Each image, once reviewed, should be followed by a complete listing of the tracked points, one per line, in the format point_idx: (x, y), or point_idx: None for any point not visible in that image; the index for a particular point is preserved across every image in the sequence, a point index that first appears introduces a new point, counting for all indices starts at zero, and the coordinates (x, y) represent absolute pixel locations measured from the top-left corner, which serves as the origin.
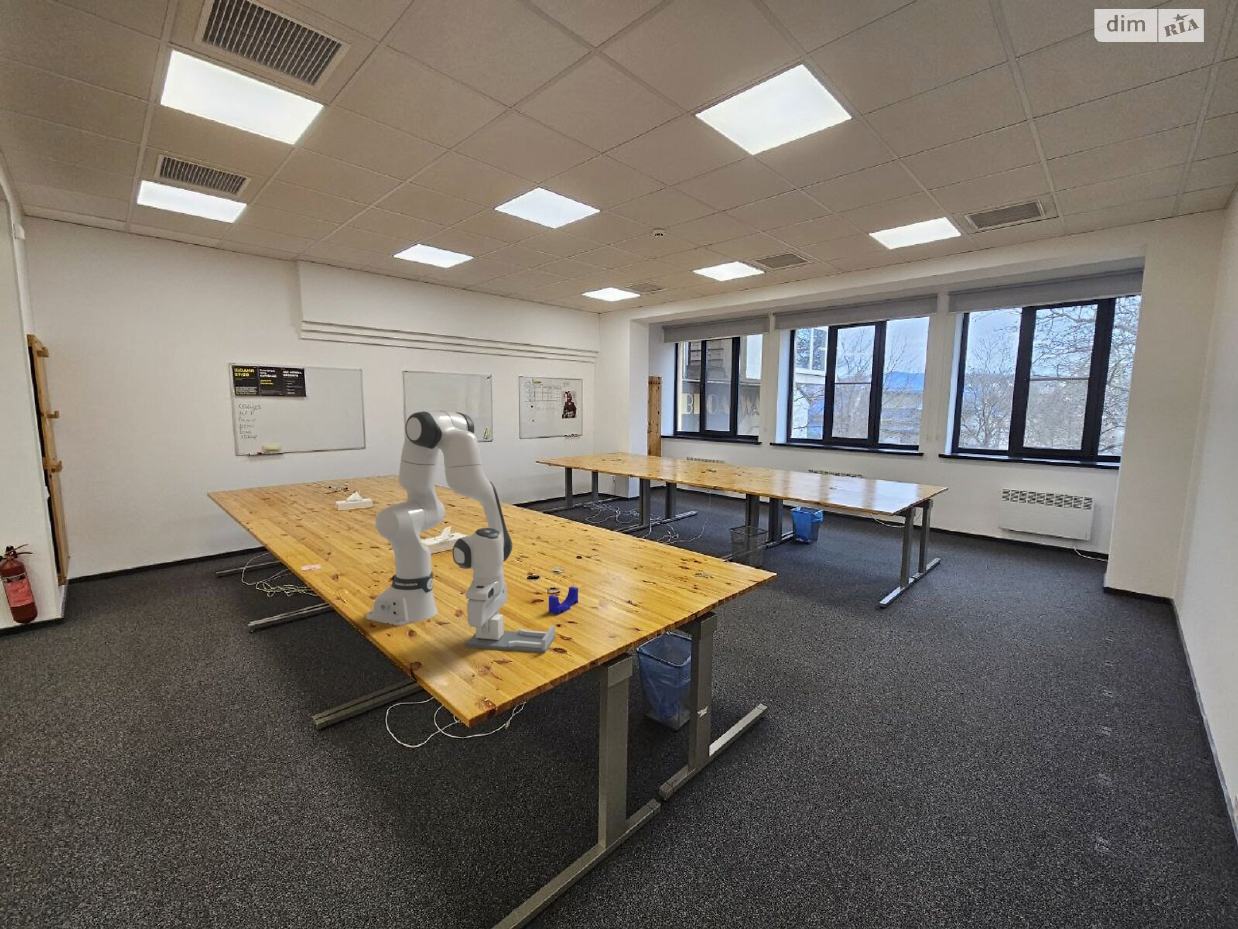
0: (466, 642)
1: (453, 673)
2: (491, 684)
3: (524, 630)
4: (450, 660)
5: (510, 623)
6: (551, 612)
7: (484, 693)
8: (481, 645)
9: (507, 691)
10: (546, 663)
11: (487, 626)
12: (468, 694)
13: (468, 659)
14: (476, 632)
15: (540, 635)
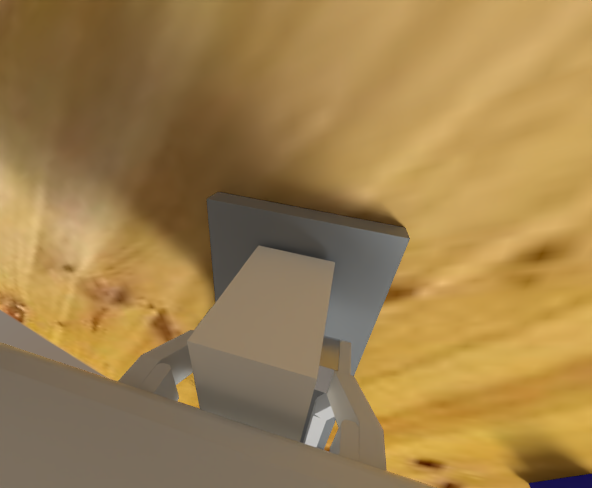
0: (215, 202)
1: (39, 206)
2: (66, 312)
3: (323, 417)
4: (94, 160)
5: (506, 353)
6: (577, 483)
7: (32, 302)
8: (215, 272)
9: (66, 340)
10: (193, 404)
11: (191, 366)
12: (5, 271)
13: (134, 233)
14: (244, 267)
15: (306, 433)
